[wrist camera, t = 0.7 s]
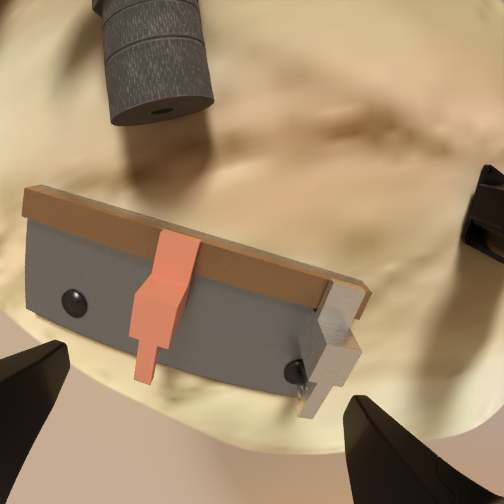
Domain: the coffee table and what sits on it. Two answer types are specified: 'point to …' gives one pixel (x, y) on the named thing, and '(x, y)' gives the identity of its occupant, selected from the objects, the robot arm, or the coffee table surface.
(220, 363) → the plate
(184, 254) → the block
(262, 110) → the coffee table surface
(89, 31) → the coffee table surface
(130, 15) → the laser sight
